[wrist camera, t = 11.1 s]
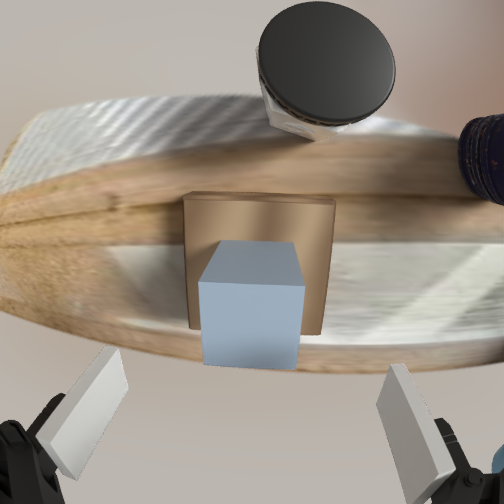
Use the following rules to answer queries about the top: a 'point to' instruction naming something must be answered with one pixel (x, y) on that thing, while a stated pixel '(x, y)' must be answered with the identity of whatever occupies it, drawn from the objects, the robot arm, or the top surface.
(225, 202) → the base block
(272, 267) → the slate block
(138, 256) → the top surface
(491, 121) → the dark blue upright cylinder
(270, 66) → the jar
